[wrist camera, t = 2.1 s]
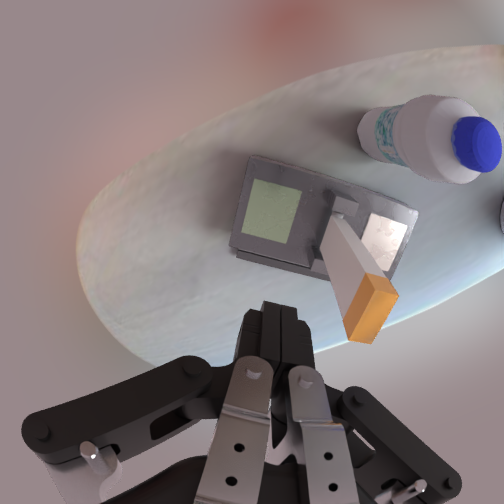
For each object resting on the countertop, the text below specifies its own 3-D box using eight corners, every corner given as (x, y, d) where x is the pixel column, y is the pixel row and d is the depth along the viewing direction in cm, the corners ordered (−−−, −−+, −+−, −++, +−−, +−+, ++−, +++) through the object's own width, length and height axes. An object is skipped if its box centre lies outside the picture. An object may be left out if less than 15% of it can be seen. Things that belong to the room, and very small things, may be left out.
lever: (344, 213, 27) (402, 290, 13) (330, 251, 29) (368, 348, 15) (329, 208, 27) (378, 283, 13) (316, 247, 29) (345, 345, 15)
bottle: (372, 172, 30) (477, 226, 11) (340, 126, 28) (430, 118, 10) (411, 143, 27) (532, 169, 9) (381, 97, 26) (493, 70, 7)
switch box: (405, 203, 31) (432, 220, 24) (377, 271, 35) (395, 300, 28) (252, 154, 30) (246, 159, 24) (234, 233, 34) (223, 258, 28)
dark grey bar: (369, 274, 35) (371, 277, 34) (364, 286, 36) (365, 290, 35) (240, 240, 35) (239, 242, 34) (237, 254, 35) (236, 257, 35)
